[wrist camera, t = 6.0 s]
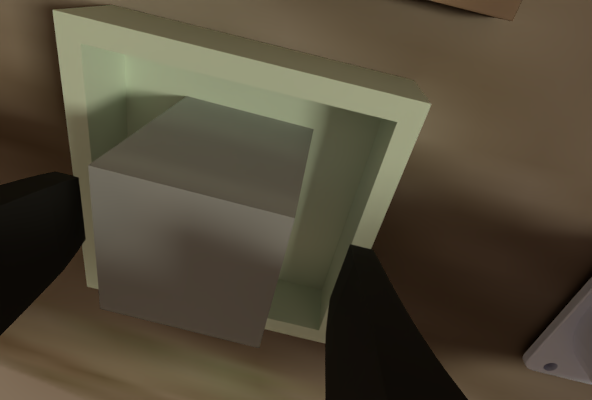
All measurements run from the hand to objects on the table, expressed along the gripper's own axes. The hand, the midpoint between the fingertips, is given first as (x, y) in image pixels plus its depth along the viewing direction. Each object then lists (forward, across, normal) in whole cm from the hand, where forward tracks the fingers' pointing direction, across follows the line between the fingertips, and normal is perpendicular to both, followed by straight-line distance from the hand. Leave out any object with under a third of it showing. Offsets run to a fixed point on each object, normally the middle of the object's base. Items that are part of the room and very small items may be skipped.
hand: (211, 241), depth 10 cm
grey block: (+3, 0, 0) cm, 3 cm away
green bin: (+4, 0, 0) cm, 4 cm away
